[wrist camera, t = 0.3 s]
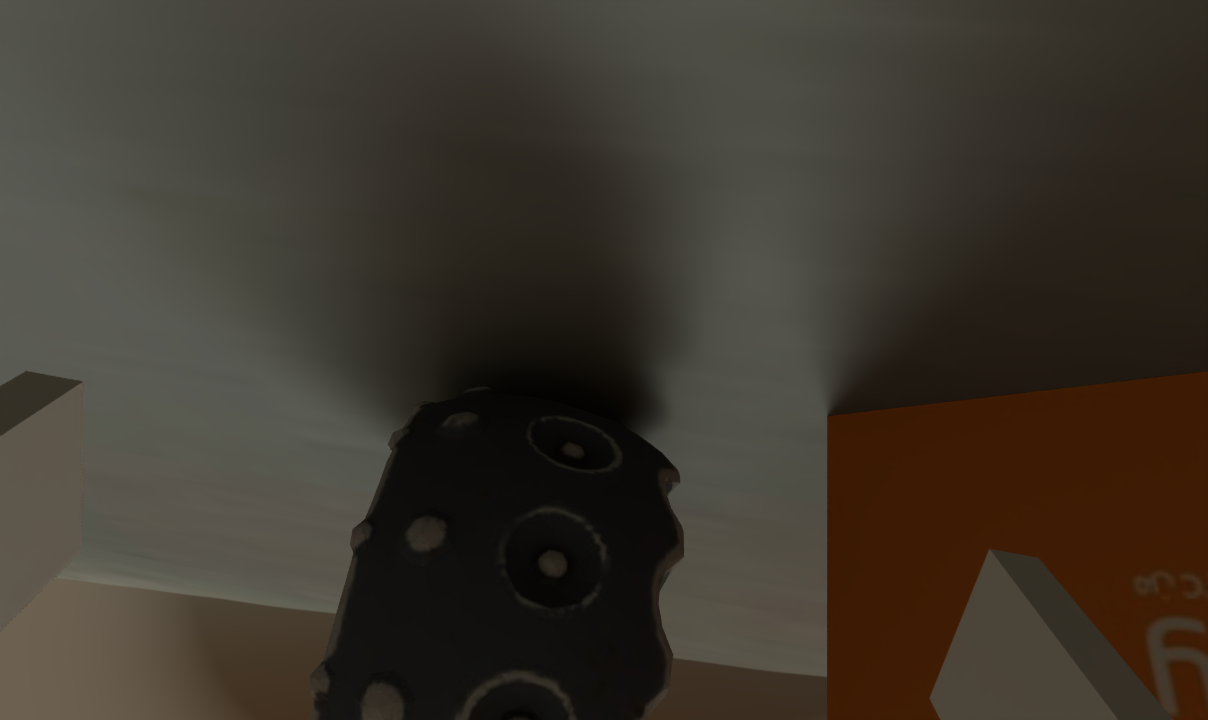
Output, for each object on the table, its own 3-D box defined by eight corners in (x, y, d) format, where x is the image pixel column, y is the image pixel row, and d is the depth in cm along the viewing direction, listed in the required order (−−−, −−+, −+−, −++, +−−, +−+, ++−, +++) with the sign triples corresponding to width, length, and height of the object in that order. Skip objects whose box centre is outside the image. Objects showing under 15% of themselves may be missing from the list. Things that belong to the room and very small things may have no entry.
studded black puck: (425, 503, 49) (300, 932, 38) (432, 267, 33) (216, 892, 21) (617, 544, 50) (553, 978, 38) (716, 332, 34) (657, 973, 22)
